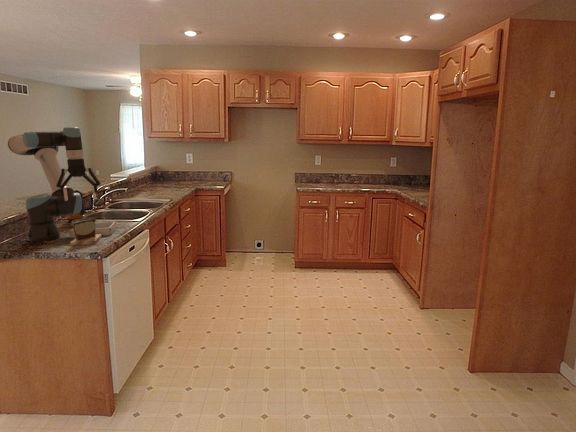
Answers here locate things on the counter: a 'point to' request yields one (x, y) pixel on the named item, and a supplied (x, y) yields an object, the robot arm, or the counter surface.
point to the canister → (78, 215)
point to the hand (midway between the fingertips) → (80, 199)
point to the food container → (84, 228)
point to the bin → (100, 228)
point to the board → (86, 240)
